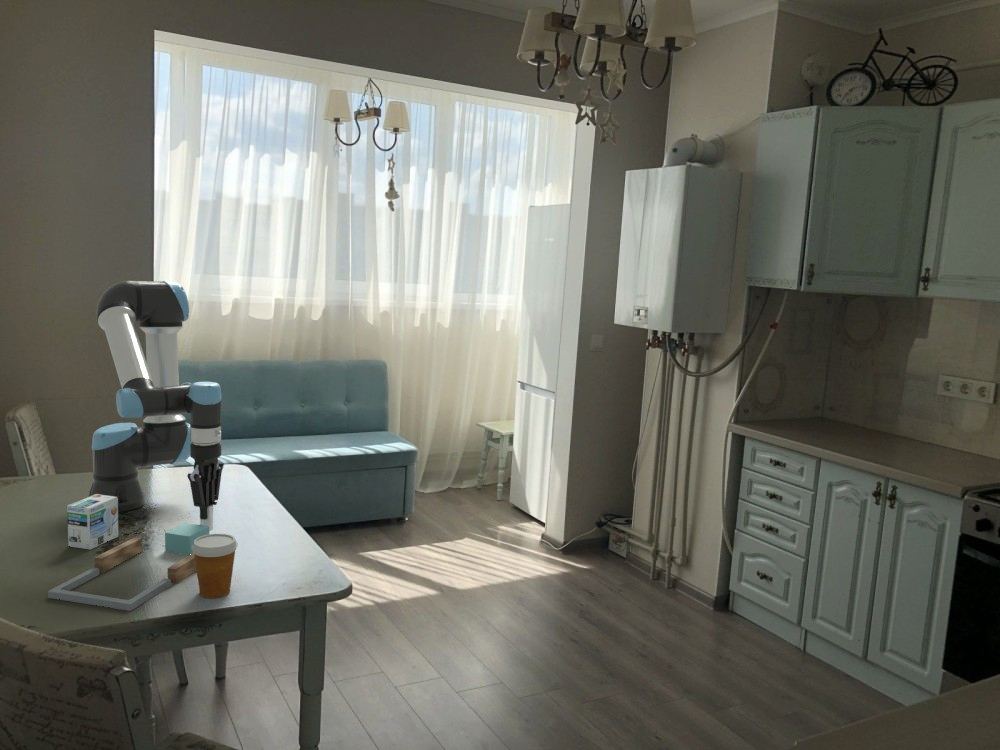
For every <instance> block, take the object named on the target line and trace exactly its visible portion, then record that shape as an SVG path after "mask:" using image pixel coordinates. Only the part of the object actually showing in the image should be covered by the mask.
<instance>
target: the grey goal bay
mask: <svg viewBox="0 0 1000 750" xmlns="http://www.w3.org/2000/svg"><path fill="white" fill-rule="evenodd" d="M97 576H100V573H99V568H95V567H92V568H90V569H88V570H86V571H84V572H82V573H80V574H78V575H76V576H74V577H72V578H70V579H69V580H67V581H65V582H63V583H61V584H59V585H57V586H55V587H54V588H51V589H49V590H47V598H48V599H54V600H59V599H60V600H59V601H65V602H72V603H76V604H77V603H78V604H79V603H80V604H85V605H90V606H91V605H92V606H96V605H97V606H96V607H102V606H104V607H103V608H108V607H110V609H115V610H120V611H121V610H122V611H128V612H132V611H133V610H135V609H136V608H138V607H139V606H141V605H143V604H144V603H146V602H147V601H149V600H151V599H152V598H154V597H156V595H158V594H160V593H161V592H163V591H165V590H166V589H168V588H169V587H171V586H172V583H171V579H168V577H167V578H163V579H161V580H159V581H158V582H156V583H155V584H153V585H152V586H150V587H148V588H147V589H144V591H141V592H140V593H138V594H137V595H135V596H134V597H132V598H130V599H122V598H117V597H110V596H104V595H99V594H98V595H97V594H91V593H84V592H81V591H80V592H78V591H73V589H75V588H77V587H80V586H81V585H82V584H85V583H86V582H88V581H90V580H92V579H94V578H96V577H97Z"/></svg>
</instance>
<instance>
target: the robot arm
mask: <svg viewBox="0 0 1000 750" xmlns="http://www.w3.org/2000/svg"><path fill="white" fill-rule="evenodd" d="M95 311H96V312H95V313H96V315H95V316H96V320H97V322H98V323H97V324H98V326H99V327H100V328H101V329H102V330H103V331H104V333H105V336H106V340H107V343H108V346H109V350H110V352H111V356H112V357H111V358H112V360H113V363H114V366H115V370H116V373H117V377H118V379H119V385H120V387H121V389H118V390H117V391H116V396H115V404H116V410H117V411H116V412H117V413H118V415H119V416H120V417H121V418H124V419H132V418H133V419H140V418H144V419H143V420H142V422H143V426H142V427H138V425H137V424H136V423H134V422H117V423H112V424H108V425H103V426H102V427H99V428H98V429H96V430H95V431H94V432H93V434H92V440H91V441H92V442H91V449H92V451H91V452H92V476H93V477H92V478H93V479H92V484H91V487H90V491H89V492H88V496H87V498H88V497H90V496H93V495H95V494H100V495H106V496H114V497H118V513H122V512H128V511H132V510H135V509H139V508H140V507H142V506H144V505H145V504H146V494H145V492H144V491H143V488H142V484H141V481H140V478H139V469H140V468H146V467H152V466H162V465H163V466H164V465H174V464H178V463H183V462H185V461H187V460H188V459H189V458H191V459H193V461H194V464H193V471H192V472H191V473H190V472H189V473H188V474H187V478H188V481H189V484H190V490H191V496H192V501H193V506H194V507H199V520H200V521H199V523H200V524H199V525H205V526H209V532H211V531H213V529H214V524H213V523H214V520H213V519H214V513H213V512H214V506H216V505H217V504H218V502H217V501H218V500H219V496H220V490H221V489H220V488H221V481H222V472H223V469H224V466H225V464H224V463H223V462H219V459H218V458H220V457H221V456H222V443H221V441H222V398H223V395H222V390H221V389H222V388H221V385H220V384H219V383H218V382H214V381H198V382H183V383H182V384H180V377H179V375H180V374H179V373H180V371H179V348H178V347H179V346H178V345H179V344H178V333H179V332H180V331H181V330H182V329H183V322H186V321H188V319H189V318H190V317H189V316H190V315H189V313H190V305H189V300H188V295H187V293H186V291H185V289H184V287H183V285H181V284H180V283H179V282H175V281H168V280H167V281H166V280H163V281H162V280H161V281H160V280H158V281H157V280H154V281H153V280H152V281H150V280H149V281H148V280H146V281H145V280H122V281H118V282H116V283H114V284H112V285H111V286H109V287H108V288H107V289H106V290H104V292H103V293H102V294H101V296H100V298H99V300H98V301H97V305H96V310H95ZM136 322H139V323H138V324H139V329H141V331H142V332H144V334H145V347H146V348H145V351H146V353H145V354H144V350H143V348H142V344H141V341H140V338H139V335H138V333H137V329H136V325H135V323H136ZM145 355H146V357H145ZM182 414H183V415H182ZM184 414H189V422H190V423H188V422H187V421H186V419H187V418H186V417H185V416H184Z"/></svg>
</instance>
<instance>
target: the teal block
mask: <svg viewBox="0 0 1000 750" xmlns="http://www.w3.org/2000/svg"><path fill="white" fill-rule="evenodd" d="M209 534H210V531H209V526H205V525H200V524H197V523H192V522H184V523H181V524H180V525H178V526H176V527H174V528H172V529H170V530H168V531H167V530H166V531H165V532H164V550H165V552H167V551H168V552H169V553H173V552H174V554H179V553H181V554H180V555H186V554H188V555H187V556H189V555H190V554H192V553H193V551H192V545H193V543H194V540H195V539H197V538H198V537H201V536H204V535H209Z"/></svg>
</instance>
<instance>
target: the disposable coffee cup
mask: <svg viewBox="0 0 1000 750" xmlns="http://www.w3.org/2000/svg"><path fill="white" fill-rule="evenodd" d="M237 547H239V544H238V542H237V540H236V536H233V535H231V534H227V533H209V535H204V536H201V537H198V538H197V539H195V540H194V543H193V545H192V551H193V553H194V557H195V564H196V570H197V571H196V576H197V582H198V583H197V584H198V589H199V595H200V596H201V597H203V598H207V599H217V598H221V597H225V596H227V595H228V594H229V593H230V592H231V585H232V577H233V570H234V564H235V556H236V555H235V554H236V550H237Z"/></svg>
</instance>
